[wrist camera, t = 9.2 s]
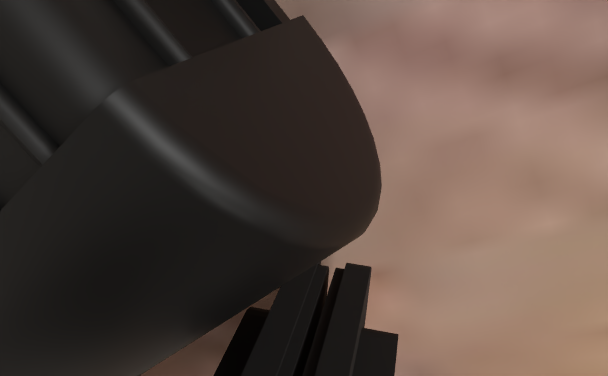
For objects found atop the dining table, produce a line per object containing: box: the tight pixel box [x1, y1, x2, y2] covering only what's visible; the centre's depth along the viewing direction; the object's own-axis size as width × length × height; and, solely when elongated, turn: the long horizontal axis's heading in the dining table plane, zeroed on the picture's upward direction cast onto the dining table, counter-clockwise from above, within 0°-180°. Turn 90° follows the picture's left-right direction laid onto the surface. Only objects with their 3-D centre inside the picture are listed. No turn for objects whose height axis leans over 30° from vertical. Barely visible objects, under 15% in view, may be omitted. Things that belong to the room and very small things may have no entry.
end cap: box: [0, 0, 382, 376], centre depth 10 cm, size 10×7×7 cm
